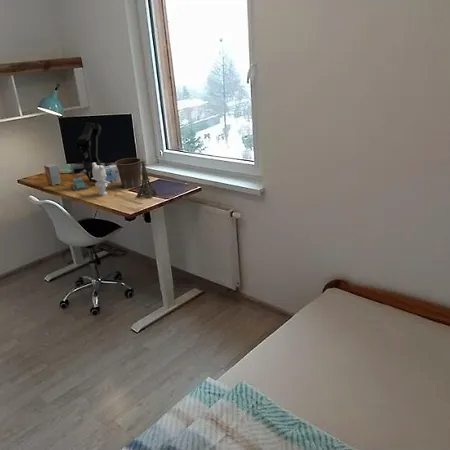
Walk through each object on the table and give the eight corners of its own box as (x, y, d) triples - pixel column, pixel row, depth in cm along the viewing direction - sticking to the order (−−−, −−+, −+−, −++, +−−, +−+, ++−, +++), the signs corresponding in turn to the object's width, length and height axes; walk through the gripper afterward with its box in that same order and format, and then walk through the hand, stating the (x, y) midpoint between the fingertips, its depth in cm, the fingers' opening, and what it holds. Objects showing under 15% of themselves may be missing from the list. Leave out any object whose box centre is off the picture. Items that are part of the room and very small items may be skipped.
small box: (47, 184, 313) (43, 165, 308) (56, 181, 317) (52, 163, 312) (52, 186, 307) (48, 167, 302) (61, 183, 311) (57, 165, 306)
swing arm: (81, 181, 309) (80, 176, 307) (85, 187, 294) (84, 182, 293) (73, 182, 307) (72, 178, 306) (77, 188, 292) (76, 184, 291)
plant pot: (138, 189, 287) (135, 164, 281) (114, 189, 290) (110, 164, 285) (147, 181, 302) (144, 157, 296) (124, 182, 305) (121, 158, 299)
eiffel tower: (144, 192, 281) (138, 151, 271) (159, 193, 277) (154, 152, 268) (135, 197, 271) (129, 155, 262) (150, 198, 268) (145, 156, 259)
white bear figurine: (99, 190, 291) (94, 160, 284) (118, 195, 278) (113, 163, 271) (89, 193, 286) (83, 162, 279) (107, 198, 273) (102, 166, 266)
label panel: (86, 184, 305) (85, 182, 305) (88, 188, 296) (88, 186, 295) (72, 186, 302) (71, 185, 302) (74, 191, 293) (73, 189, 292)
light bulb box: (105, 185, 301) (103, 169, 297) (101, 183, 306) (98, 167, 302) (120, 181, 307) (118, 165, 303) (116, 179, 312) (113, 164, 308)
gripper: (73, 162, 284) (77, 186, 289) (103, 157, 290) (107, 181, 296) (70, 159, 293) (75, 182, 299) (100, 154, 300) (104, 178, 306)
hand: (90, 181), depth 299 cm, fingers closed
